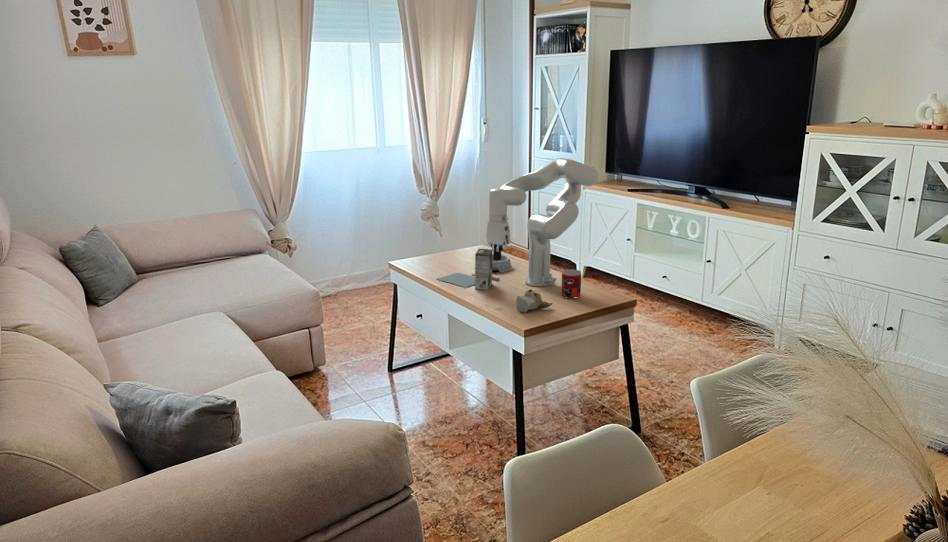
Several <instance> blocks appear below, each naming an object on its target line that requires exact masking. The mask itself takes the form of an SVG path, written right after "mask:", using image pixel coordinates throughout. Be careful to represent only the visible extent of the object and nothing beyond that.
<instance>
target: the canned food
mask: <svg viewBox="0 0 948 542" xmlns="http://www.w3.org/2000/svg"><path fill="white" fill-rule="evenodd" d="M561 272H562V273H561V297H562V296H563V297H567V298H574V297H579V296H580V297H581V291H582V290H581V289H582V271H581V270H579V269H572V268H571V269H570V268H569V269H563V270H562V271H561ZM563 297H562V298H563ZM580 297H579V298H580Z"/></svg>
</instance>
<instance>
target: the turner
mask: <svg viewBox="0 0 948 542" xmlns="http://www.w3.org/2000/svg"><path fill="white" fill-rule="evenodd" d="M471 276H473V277H475V272H474V273H472V274H471ZM492 281H496V282H498V281H500V277H499V276H494V275H492Z"/></svg>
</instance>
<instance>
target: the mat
mask: <svg viewBox="0 0 948 542" xmlns="http://www.w3.org/2000/svg"><path fill="white" fill-rule="evenodd" d="M436 280H437V281H441V282H445V283H448V284H451V285H455V286H457V287H460V288H464V289H466V288H469V287H471V286H472V287H473V286H475V276H472V275H469V274H467V273H466V274H465V273H462V272H455V273H451V274H447V275H444V276H442V277H438V278H436Z"/></svg>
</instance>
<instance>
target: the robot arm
mask: <svg viewBox="0 0 948 542" xmlns="http://www.w3.org/2000/svg"><path fill="white" fill-rule="evenodd" d="M560 179H565V184H564V188H563V189H562V190H561V191H560V192H559V193H558V194H557V195H556V196H555V197H554V198H553V199H552V200H550V202H549V203H548V204H547V205H546V207H545V214H543V213H535V214H532V215H531V216H530V217H528V220H527V226H526V227H527V233H528V234H527V235H528V244H529V245H528V277H526V278H525V280H524V281H525V284H526V285H528V286H531V287H538V288H539V287H548V286H551V285H553V284H555V283H556V281H557V278H556V277H553V274H552V273H551V240H556V239H557V238H559V237H561V235H562V234H563V233H564V232H565V231H567V230H568V229H569V228H570V227H571V226H572V225H573V224H574V223H575V222H576V220H577V218H578V216H579V207H578V205H577V203H578V202H579V200H580V198H581V195H582V186H583V187H584V186H585V187H592V186H594V185H596V184H597V182H598V180H599V172H598V170H597V169H596V168H594V167H593V166H590V165H588V164H585V163H583V162H579V161H577V160H574V159H571V158H564V157H558V158H555V159H553V160H551V161H549V162H547V163H546V164H544V165H543V166H541V167H540V168H538V169H536V170H535V171H531V172H528V173H526V174H523V175H519V176H518V177H515V178H513V179H511V180H509V181H507V182H506V183H505V184H503V185H502V186H501V187H500V188H498V187H496V188H491V189H490V191H489V202H488V203H489V205H488V206H489V207H488V210H489V211H488V221H487V226H486V237H485V238H486V242H487V243H486V244H487V245H488V246H490V247H491V250H492V254H493V260H496V261H497V260H501V255H502V251H503V250H505V249H508V245H509V244H510V242H511V234H510V233H511V232H510V223H509V221H508V220H509V217H508V206H512V207H513V206H514V207H516V206H517V207H518V206H522V205H523V204H524V203H525V202H526V201H527V193H526V192H531V191H538V190H539V191H540V190H544V189H546V188H547V187H549V186H551V185H552V184H553V183H555V182H557V181H559V180H560Z"/></svg>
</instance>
